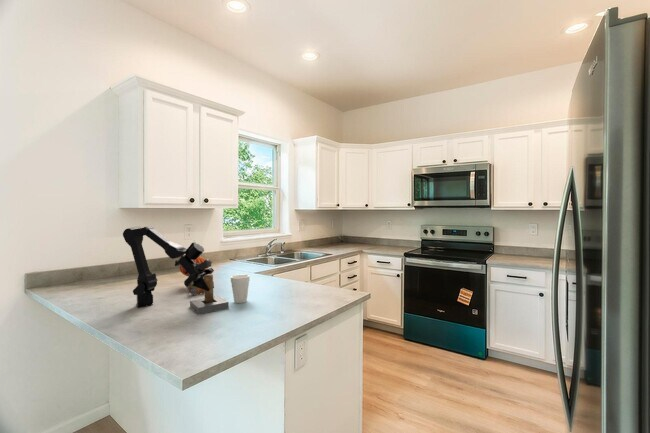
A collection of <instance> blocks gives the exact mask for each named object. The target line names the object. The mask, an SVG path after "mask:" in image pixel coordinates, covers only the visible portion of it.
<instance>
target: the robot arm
mask: <svg viewBox="0 0 650 433" xmlns="http://www.w3.org/2000/svg"><path fill="white" fill-rule="evenodd" d="M122 236H123V239H124V241H125V243H126V244H127V245H128V246H130V247H129V248H130V249H131V252H132V256H133V260H134V263H135V266H136V270H137V273H138V277H137V279H136V287H134V289H133V290H132V293H133V295H134V296H136V304H135V305H136V307H137V308H143V307H144V308H145V307H148V306H149V307H150V306H153V305H154V294H152V293H153V291H155V288H156V287H157V285H158V280H159V279H158V278H157V274H156V273H155V272H154V273H152V272H151V270H150V268H149V263H148V261H147V257H146V254H145V250H144V247H143V241H144V236H146V237H147V238H149V239H150V240H151V241H153V242H154V243H155V244H156V245H158V246H159V247H161V248H162V249H163V250H164V252H165V254H166V256H168V258H170V259H172V260H174V259H177V260H175V261H174V262H175V263H174V266H175V267H178V266H180V265H181V267H182V268H183V269H184V270H185V271H186V272H185V274H189V275H190V276H187V278H185V280H184V281H183V284H184V286H185V288H188V286H190V285H191V282H192V281H193V283H194V284H193V285H192V286H195V287H198V288H201V289H204V290H206V291H209V290H210V289H209V287H208V286H207V285H206V283H205V282H204V275H206V274H213V273H214V272H215V270H214V269H213V268H212V262H213V261H211V259H209V258H207V259H206V258H205V259H206V260H204V262H203V263H201V264H199V263H195V262H194V261H193V259H194V260H196V259H197V258H198V257H199V256H200V257H201V255H202V254H203V253H204V252H205V248H204V247H203V246H202V245H200V244H199V243H196V242H195V241H193V242H191V243H190V245H189V246H188V247H186V248H185V247H184V246H182V245H180V244H179V243H176V242H174V241H171V240H170V239H168V238H167V237H165V236H164V235H162V234H161V233H160V232H159V231H158V230H156V229H155V227H154V226H153V227H152V226H144V227H140V228H139V227H130V228H126V229H124V230H123V232H122ZM178 258H179V259H178ZM207 267H209V268H208V269H206V270H205V268H207ZM203 271H204V272H203ZM213 289H215V286H214V285H213Z"/></svg>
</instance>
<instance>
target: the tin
mask: <svg viewBox="0 0 650 433" xmlns="http://www.w3.org/2000/svg"><path fill="white" fill-rule="evenodd" d="M193 284H194V283H193V281H192V282H191V285H190V286H188V287H187V292H188V293H189V294H191V295H193V296H197V294H198V295H201V293H202V294H204V289H201V288H198V287H195V286H192V285H193ZM214 284H215V283H214V281H213V285H214Z"/></svg>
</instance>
